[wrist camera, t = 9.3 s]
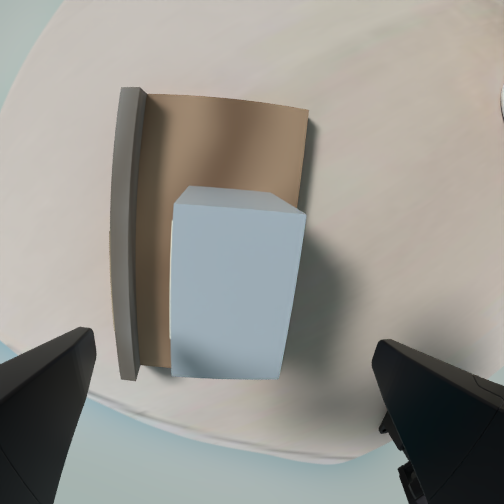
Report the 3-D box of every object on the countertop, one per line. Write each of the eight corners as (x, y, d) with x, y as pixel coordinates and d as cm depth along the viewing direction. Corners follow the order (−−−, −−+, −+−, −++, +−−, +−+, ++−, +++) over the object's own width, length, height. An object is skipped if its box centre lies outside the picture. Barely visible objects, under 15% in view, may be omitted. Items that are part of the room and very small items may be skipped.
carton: (270, 192, 18) (306, 214, 11) (256, 307, 19) (278, 379, 13) (185, 185, 17) (167, 203, 10) (179, 303, 19) (166, 375, 12)
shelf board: (302, 112, 18) (318, 105, 15) (268, 361, 22) (275, 388, 19) (132, 97, 16) (118, 87, 13) (127, 353, 21) (118, 379, 18)
